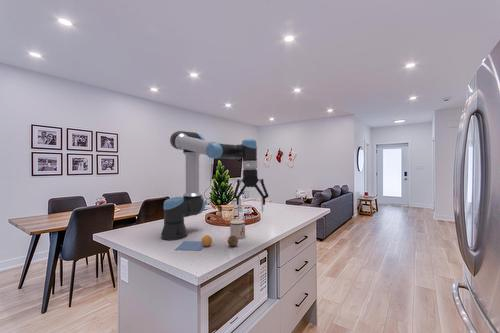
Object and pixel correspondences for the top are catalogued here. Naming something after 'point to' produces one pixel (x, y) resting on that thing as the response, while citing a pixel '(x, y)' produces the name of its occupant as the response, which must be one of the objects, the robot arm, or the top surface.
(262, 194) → the robot arm
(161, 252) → the top surface
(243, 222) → the teacup with lid
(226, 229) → the top surface
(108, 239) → the top surface
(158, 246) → the top surface
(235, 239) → the walnut ball
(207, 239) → the orange ball
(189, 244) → the mark
